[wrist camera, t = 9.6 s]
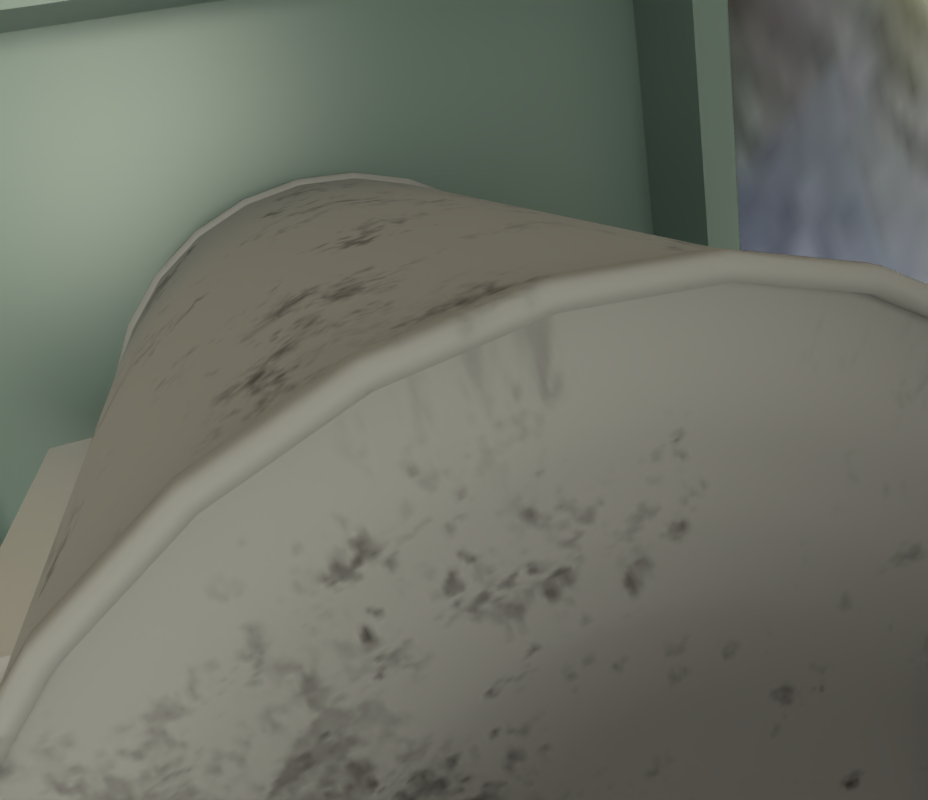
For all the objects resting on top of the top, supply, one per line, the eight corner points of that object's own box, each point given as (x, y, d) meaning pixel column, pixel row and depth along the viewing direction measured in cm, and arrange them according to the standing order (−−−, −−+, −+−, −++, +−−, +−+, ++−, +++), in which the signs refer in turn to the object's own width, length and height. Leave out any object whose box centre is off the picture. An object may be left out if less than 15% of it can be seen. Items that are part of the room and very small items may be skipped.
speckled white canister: (464, 86, 16) (1110, -50, 5) (626, 473, 20) (1199, 922, 8) (4, 320, 15) (-656, 921, 3) (272, 684, 18) (379, 1537, 7)
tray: (638, -97, 18) (720, -141, 16) (694, 573, 25) (760, 630, 22) (-261, 28, 15) (-377, 0, 12) (78, 785, 21) (57, 890, 18)
